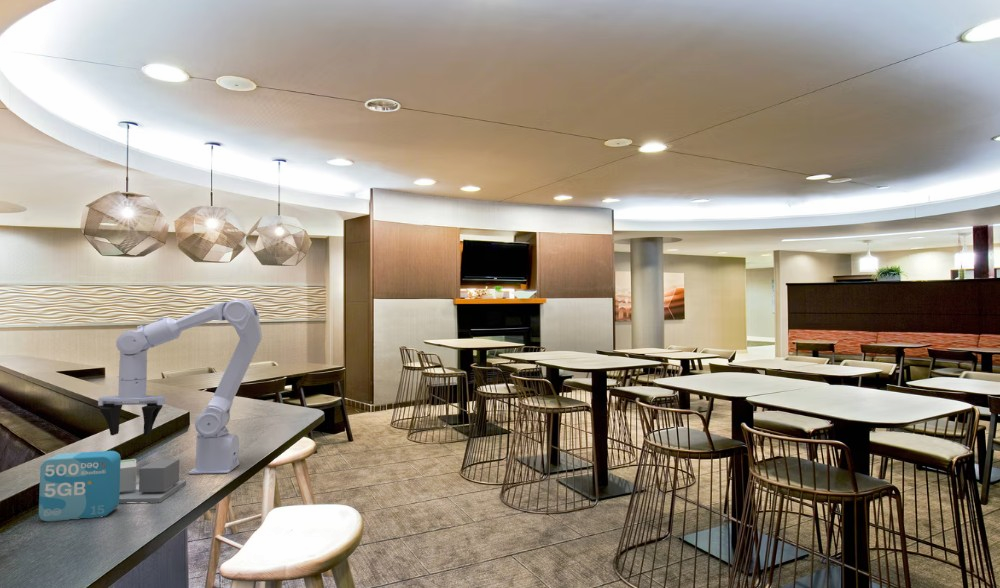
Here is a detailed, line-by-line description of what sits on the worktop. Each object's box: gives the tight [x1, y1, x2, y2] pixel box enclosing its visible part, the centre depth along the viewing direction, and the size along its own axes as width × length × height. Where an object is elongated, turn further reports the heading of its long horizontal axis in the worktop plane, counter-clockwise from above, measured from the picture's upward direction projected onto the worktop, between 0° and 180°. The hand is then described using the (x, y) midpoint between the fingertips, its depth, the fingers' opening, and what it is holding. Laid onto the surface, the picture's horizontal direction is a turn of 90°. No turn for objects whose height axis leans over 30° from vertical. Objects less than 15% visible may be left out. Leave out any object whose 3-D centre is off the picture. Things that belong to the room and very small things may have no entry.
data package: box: [38, 450, 122, 523], centre depth 108 cm, size 12×4×12 cm, turn 105°
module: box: [120, 458, 137, 492], centre depth 120 cm, size 4×7×5 cm, turn 34°
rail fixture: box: [119, 458, 187, 504], centre depth 120 cm, size 20×12×7 cm, turn 97°
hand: (131, 434), depth 134 cm, fingers open, 7 cm apart
